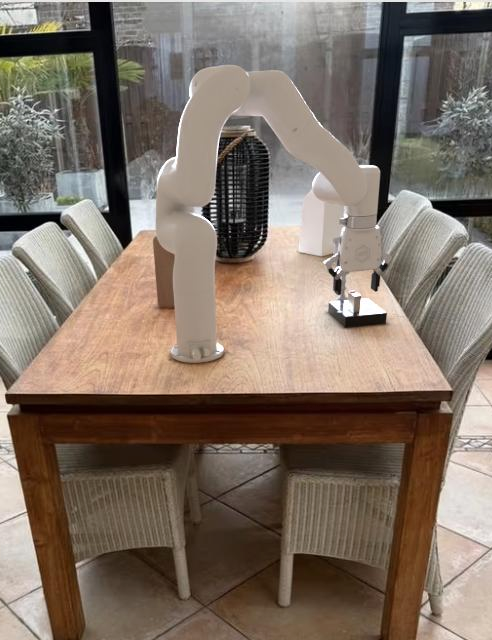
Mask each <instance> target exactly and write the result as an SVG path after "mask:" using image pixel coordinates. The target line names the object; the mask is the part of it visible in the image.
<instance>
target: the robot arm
mask: <svg viewBox="0 0 492 640" xmlns="http://www.w3.org/2000/svg"><path fill="white" fill-rule="evenodd" d="M189 97H190V98H189V100H188V101H187V103H186V105H185V107H184V109H183V111H182V114H181V117H180V122H179V125H178V133H177V143H176V156H174V157H171V158H170V159H168V160H167V161H165V163H164V164H163V165H162V166H161V169H160V170H159V173H158V176H157V181H156V194H155V195H156V199H155V236H157V239H158V241H159V243H160V245H161V246H162V247H163V248H164V249H165V250H167V251H169V252H171V253H173V254H175V261H174V268H173V291H174V305H175V308H174V318H175V333H176V334H175V335H176V345H175V346H173V347H172V348H171V349H170V356H171V358H173V359H174V360H176V361H178V362H181V363H189V364H198V363H199V364H200V363H206V362H212V361H215V360H217V359H219V358H221V357H222V356H223V355H224V352H225V351H224V346H223V345H222V344H220V343H218V339H217V338H218V336H217V334H218V333H217V305H216V302H217V301H216V280H215V279H216V278H215V277H216V273H215V271H216V270H215V269H216V258H217V249H218V236H217V231H216V229H215V227H214V226H213V224H212V223H211V222H210V221H209V220H208V219H207V218H205V217H204V216H202V215H200V214H197V213H196V208H203V207H205V206H207V205H209V203H210V202H211V201H212V199H213V198H214V195H215V191H216V180H217V167H218V165H217V164H218V151H219V143H220V138H221V133H222V130H223V127H224V126H225V124H226V122H227V121H228V120H229V118H230V117H231V116H235V117H237V116H238V117H241V116H242V117H243V116H244V117H262V118H263V119H264V120H265V121H266V123H267V124H268V126H269V127H270V128H271V130H272V131H273V133H274V134H275V135H276V137H277V138H278V140H279V141H280V143H281V144H282V146H283V147H284V149H285V150H286V151H287V152H288V153H289V154H290V155H291V156H293V157H294V158H296V159H297V160H299V161H300V162H302V163H305V164H307V165H308V166H310V167H312V168H314V169H315V170H316V171H318V173H317V174H316V176H315V177H314V178H313V181H312V184H311V185H312V186H311V187H312V188H311V189H313V193H314V195H315V196H316V197H317V198H318V199H319V200H321V201H323V202H326V203H331V204H338V205H342V206H344V218H342V219H339V224H343V225H344V228H342V230H341V234H340V239H339V244H338V252H337V254H335V255H334V254H333V255H332V256H330V257H329V258H327V259H326V260H324V261H323V265H324V267H325V269H326V271H327V273H328V274H329V275H330V276H331V277H332V278H333V280H332V281H333V282H332V283H333V284H332V290H333V292H334V294H336V295H337V296H340V295H341V286H342V275H343V273H344V272H350V273H356V272H363V271H364V272H365V271H372V274H371V278H370V279H371V280H370V290H372V291H374V292H375V293H376V292H378V291H379V287H380V285H381V276H382V275H383V274H384V272H385V271H386V270H387V269H388V268H389V265H390V263H391V261H392V260H393V255H391V254H389V253H387V252H385V251H383V250H382V239H381V229H380V226H378V225H377V221H378V220H377V219H378V209H379V207H378V206H379V194H380V193H379V192H380V181H381V170H380V168H379V167H378V166H376V165H360V164H359V162H358V161H357V159H356V158H355V156H354V155H353V154H352V153H351V151H350V150H349V149H348V148H347V147H346V146H345V145H344V144H343V143H341V141H339V140H338V139H337V138H336V137H335V136H334V135H333V134H332V133H331V132H330V131H329V130H327V129H326V128H325V127H324V126H323V125H321V122H319V120H318V119H317V117H316V116H315V114H314V113H313V112H312V111H311V108H310V107H309V105H308V104H307V103H306V101H305V99H304V98H303V96H302V95H301V93H300V91H299V90H298V88H297V86H296V85H295V84H294V82H293V81H292V78H290V77H289V76H288V74H287V73H285V72H284V71H282V70H278V69H272V70H271V69H268V70H259V71H257V70H256V71H246V70H245V68H243V67H241V66H238V65H236V64H221V65H216V66H208V67H205V68H202V69H200V70H199V71H197V72H196V73H195V74H194V76H193V77H192V79H191V81H190V84H189ZM382 258H383V261H381V260H382ZM336 261H337V268H335V270H334V269H333V266H332V265H333V264H335V262H336Z"/></svg>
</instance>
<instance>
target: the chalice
mask: <svg viewBox="0 0 492 640" xmlns="http://www.w3.org/2000/svg"><path fill="white" fill-rule="evenodd" d="M339 239H340V237H338V238H334V239H333V242H334V253H333V256H334V255H335V254H337V252H338V244H339ZM334 265H335V267H336V268H337V261H336V262H334ZM336 268H335V269H336ZM350 273H351V272H344V273H343V275H342V276H341V280H342V286H341V295H339V296H337V297H336V298H335V300H334V301H343V300H348V296H346V295H345V292H346V290H347V288H346V283H347V279H346V276H347V275H348V274H350Z"/></svg>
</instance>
